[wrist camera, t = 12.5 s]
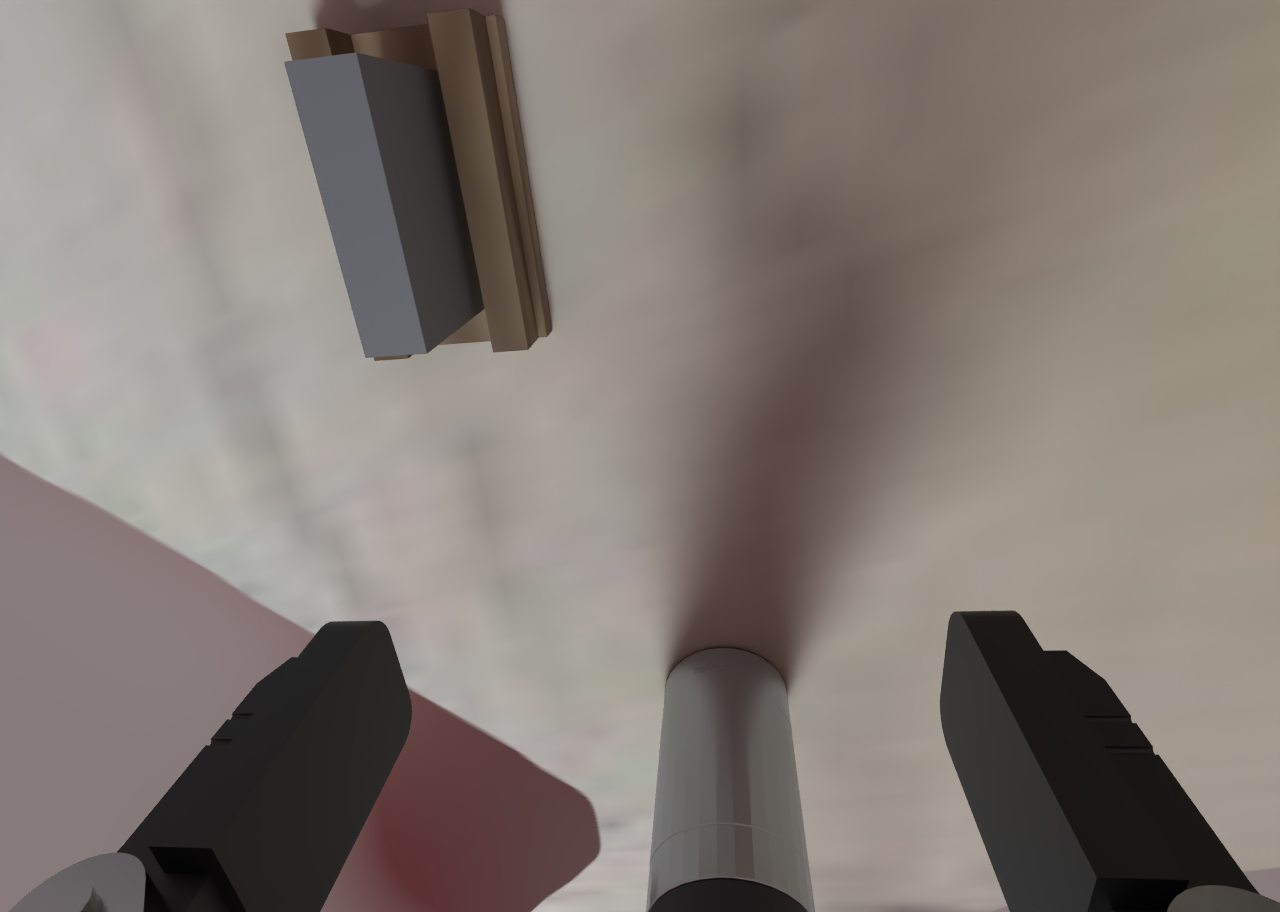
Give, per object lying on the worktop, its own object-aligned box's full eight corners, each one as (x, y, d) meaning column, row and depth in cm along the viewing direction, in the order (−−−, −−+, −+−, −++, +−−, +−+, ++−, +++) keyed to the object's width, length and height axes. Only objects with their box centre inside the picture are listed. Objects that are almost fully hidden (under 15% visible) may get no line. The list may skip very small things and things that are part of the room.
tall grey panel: (440, 71, 34) (356, 52, 26) (485, 308, 39) (427, 353, 31) (380, 78, 35) (279, 62, 27) (433, 311, 40) (361, 357, 32)
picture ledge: (503, 19, 34) (479, 6, 31) (552, 330, 41) (536, 349, 37) (319, 44, 36) (275, 35, 32) (395, 341, 42) (366, 361, 39)
